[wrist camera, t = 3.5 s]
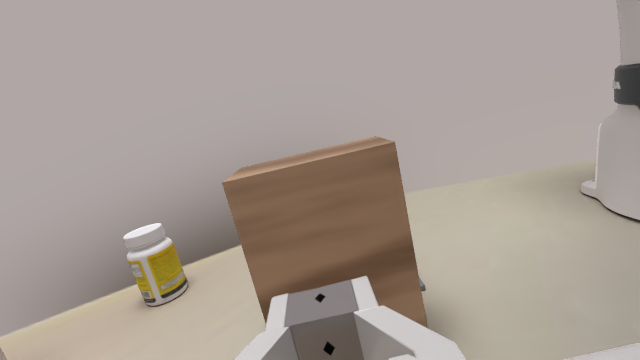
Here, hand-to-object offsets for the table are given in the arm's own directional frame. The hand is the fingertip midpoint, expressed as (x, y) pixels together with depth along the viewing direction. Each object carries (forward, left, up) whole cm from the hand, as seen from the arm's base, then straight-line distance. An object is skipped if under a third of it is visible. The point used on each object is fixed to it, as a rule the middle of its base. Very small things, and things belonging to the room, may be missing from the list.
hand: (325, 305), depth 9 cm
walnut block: (-5, -10, -11) cm, 15 cm away
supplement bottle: (+8, -31, -11) cm, 34 cm away
